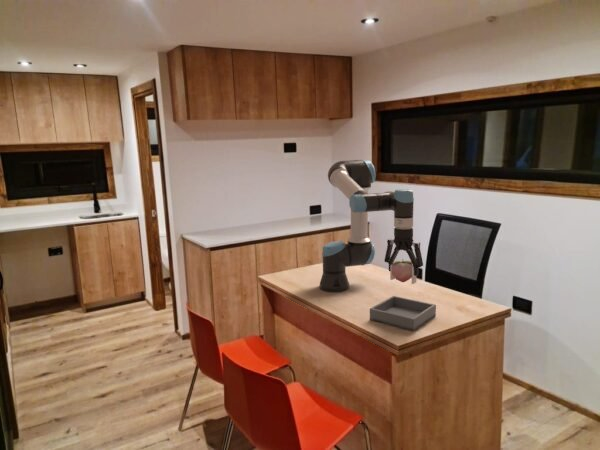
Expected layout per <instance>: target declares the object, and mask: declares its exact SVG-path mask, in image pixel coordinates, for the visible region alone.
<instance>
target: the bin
mask: <svg viewBox="0 0 600 450" xmlns="http://www.w3.org/2000/svg"><path fill="white" fill-rule="evenodd" d="M436 309H437V305H436V304H433V303H428V302H424V301H419V300H415V299H410V298H405V297H401V296H396V295H391V297H388V298H387V299H385V300H383V301H382V302H379V303H378V304H376V305H373V306H372V307H371V308H369V321H371V322H375V323H380V324H384V325H387V326H391V327H395V328H399V329H403V330H406V331H411V332H413V333H414V332H415V331H417V330H418V329H420V328H421V327H422V326H424V325H425V324H426V323H428V322H429V321H431V320H432V319H434V318H435V317H436V315H437V313H436V312H437V310H436Z"/></svg>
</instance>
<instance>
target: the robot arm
mask: <svg viewBox="0 0 600 450" xmlns="http://www.w3.org/2000/svg"><path fill="white" fill-rule="evenodd" d="M376 176H377V175H376V169H375V166H374V164H373V162H372V161H370V160H368V159H354V160H353V159H352V160H350V159H349V160H339V161H336V162H335V163H333V164H332V165H331V167H330V168H329V169H328V172H327V179H328V181H329V183H330V184H331V186H333V187H334V188H336V189H338V190H339V191H340V192H341V193H342V194H343V195H344V196H345V198H347V199H348V200H349V208H350V237H348V238H347V243H345V241H341V240H340V241H339V240H336V241H330V242H327V243H325V244H323V246H322V253H321V256H322V275H321V278H320V282H319V288H320V290H322V291H325V292H331V293H337V292H343V291H346V290H348V289H350V282H349V280H348V276H347V273H346V268H347V267H356V266H365V265H370V264H371V263H372V262H373V261H374V259H375V255H376V249H375V245H374V243H373V242H371V241H372V240H371V238H369V236H368V234H369V233H368V229H369V227H368V226H369V225H368V223H369V222H368V220H369V219H368V218H369V215H368V213H371V212H384V211H393V226H394V227H395V228H393V236H394V238H390V239H387V241H386V242H387V243H386V244H387V246H386V250H385V255H384V263H387V264H388V271H389V272H390V273H389V274H390V275H389V276H390V277H389V278H390V280H391V281H393V280H395V278H394V276H393V274H392V267H393V265H392V264H393V263H394V262H395V260H396V259H397V256H398V255H399V252H400V251H404V252H406V253H407V255H408V257H409V259H410V260H409V261H411V262H412V265H413V268H412V278H411V284H412V285H414V284H417V276H418V275H419V269H420V268H422V267H423V266H424V262H423V256H422V253H421V242H420V241H418V242H416V241H414V239H413V238H414V228H413V227H414V201H415V200H414V199H415V198H414V191H413V189H408V188H400V189H399V188H398V189H395V190H394V191H384V192H376V193H369V190H370V189H371V187H372V184H374V182H375V181H376ZM394 245H395V247H393V246H394ZM412 246H413V247H412ZM393 248H394V249H393ZM413 248H414V249H413ZM391 265H392V266H391Z"/></svg>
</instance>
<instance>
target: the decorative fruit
mask: <svg viewBox="0 0 600 450" xmlns="http://www.w3.org/2000/svg"><path fill="white" fill-rule="evenodd" d="M392 265H393V267H392V274H393V276H394V278H395V279H396V280H397V281H399V282H400V283H405V282H407V281H409V280H411V279H412V268H413V265H412V262H411V260H402V261H401V260H398V261H397V260H396V261H394V263H393V264H392ZM392 265H391V266H392ZM395 279H394V280H395Z"/></svg>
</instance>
